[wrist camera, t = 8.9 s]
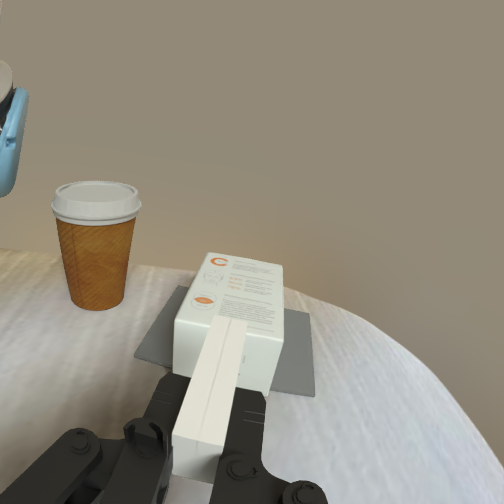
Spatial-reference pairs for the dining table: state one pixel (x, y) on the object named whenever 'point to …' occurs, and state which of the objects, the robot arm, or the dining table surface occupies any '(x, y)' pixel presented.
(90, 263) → the disposable coffee cup
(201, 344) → the small box
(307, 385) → the rubber mat
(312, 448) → the dining table surface
